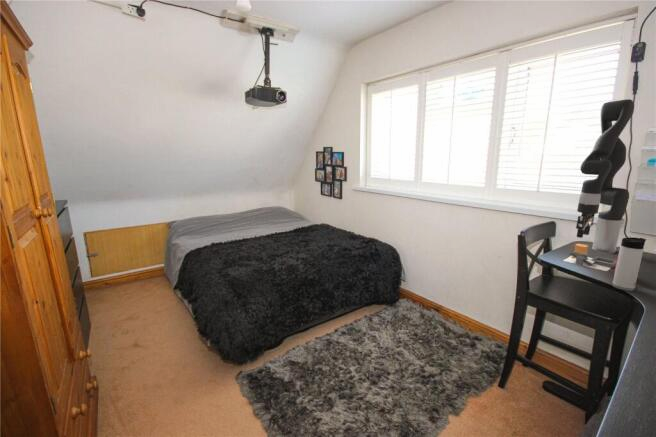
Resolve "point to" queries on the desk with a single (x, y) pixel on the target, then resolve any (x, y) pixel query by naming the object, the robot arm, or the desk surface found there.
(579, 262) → the switch mount
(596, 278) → the desk surface
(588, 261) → the breaker rocker
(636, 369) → the desk surface
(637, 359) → the desk surface
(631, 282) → the travel mug
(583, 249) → the block
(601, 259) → the lockout socket
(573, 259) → the breaker panel
